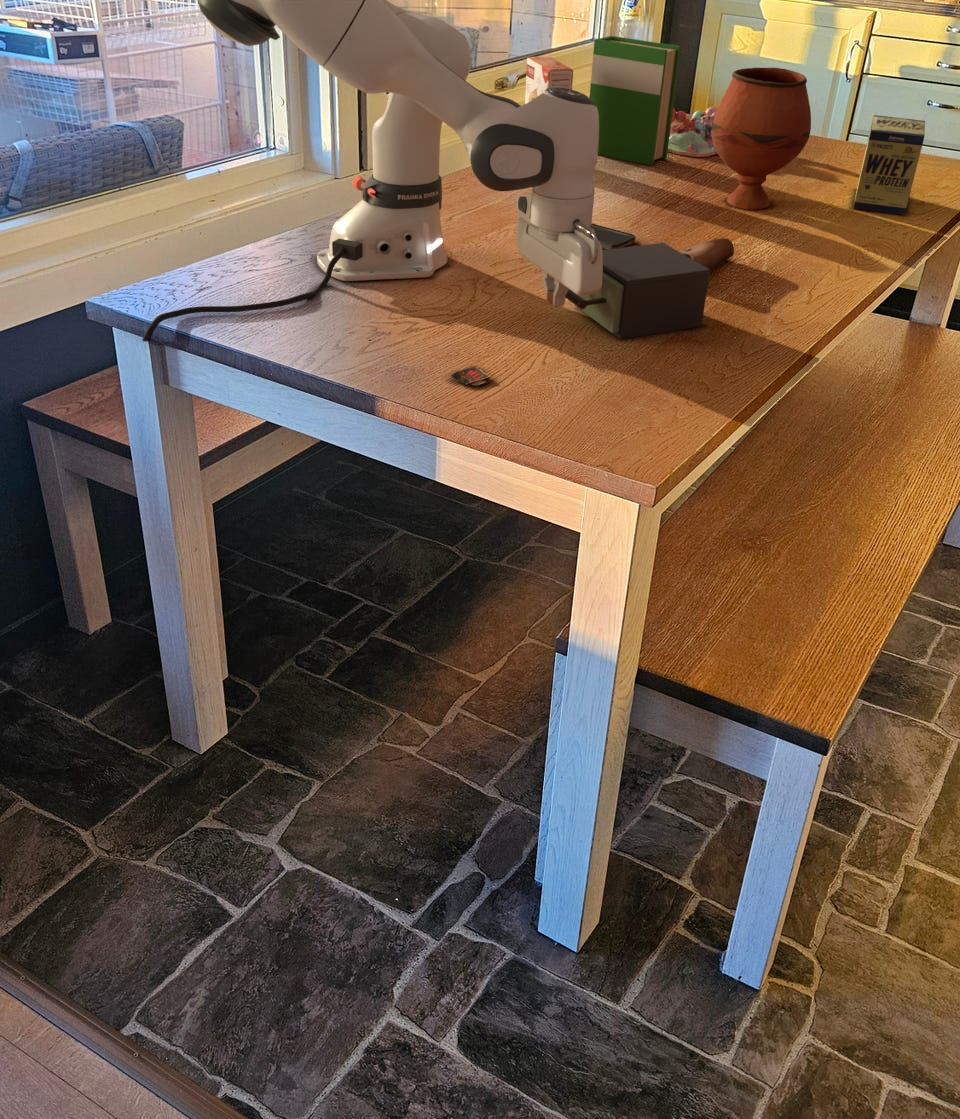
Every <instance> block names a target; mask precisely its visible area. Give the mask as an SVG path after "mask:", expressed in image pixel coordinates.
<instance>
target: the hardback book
mask: <svg viewBox="0 0 960 1119" xmlns="http://www.w3.org/2000/svg"><path fill="white" fill-rule="evenodd" d="M681 50H682V46H681V45H676V44H670V43H663V42H657V41H656V42H655V41H649V40H644V39H643V40H642V39H637V38H636V39H635V38H630V37H622V36H616V35H608V36H604V37H600V38H599V37H598V38H595V39H594V41H593V53H592V64H591V73H590V74H591V75H590V76H591V78H590V87H589V96H588V97H589V98H590V99H591V100H592V101H593V102H594V104H595V105H596V107H597V109H598V115H599V146H598V156H604V157H609V158H612V159H618V160H622V161H628V162H633V163H637V164H642V165H646V166H654V162H655V160H663V161H667V160H668V153H669V152H668V145H669V137H670V129H671V127H672V123H671V121H672V114H673V108H674V104H675V97H676V89H677V82H678V73H679V66H680V59H681Z"/></svg>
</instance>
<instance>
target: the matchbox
mask: <svg viewBox="0 0 960 1119" xmlns="http://www.w3.org/2000/svg"><path fill="white" fill-rule="evenodd" d="M450 377H452V379H455V380H456V381H458V382H459V383H462V384H464V385H468V384H469V385H472V386H476V387H477V386H480V385H484V384H485V383H486V382H487V380H485V379H487V378H489V377H491V376H490V375H489V374H487V373H486V372H484V371H483V369H480V368H478V367H475V366H470V367H467V368H465V369H462V370H457V371H455V372H454V373H452V374H451V375H450ZM455 380H453V381H455ZM456 381H455V382H456Z"/></svg>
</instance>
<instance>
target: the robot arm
mask: <svg viewBox="0 0 960 1119" xmlns="http://www.w3.org/2000/svg"><path fill="white" fill-rule="evenodd" d="M196 1H197V4H198V7H199V9H200V10H199V11H200V12H201V14H203V16H204V18H206V20H207V21H208V23H209V24H210V25H211V27H213V29H214V30H215V31H216V32H217V33H219V34H220V35H221V36H223V37H224V38H226V39H227V40H230V41H231V42H235V43H239V44H241V45H244V46H248V47H251V46H258V45H262V44H265V42H267V41H268V40H270V39H272V40H274V41H277V40H278V39H280V38H281V36H280V34H279V33H278V31H277V30H276V28H275V26H276V27H277V28H278V29H279V30H280V32H282V33H283V34H284V35H285V36H286V37H287V39H289V40H290V41H291V42H292V43H293V44H294V45H295V46H296V47H297V48H299V49H300V51H302V52H303V53H304V54H305V55H306V56H308V57H309V58H310V59H311V60H312V61H314V62H315V63H317V64H318V65H319V66H320V67H322V68H323V69H324V70H326V71H327V72H328V73H329V74H331V75H333V76H334V77H335V78H337V79H338V80H340V81H342V82H343V83H345V84H347V85H349V86H351V87H353V88H354V89H357V90H359V91H361V92H362V93H365V94H372V95H377V94H382V93H388V98H387V103H386V106H385V110H384V112H383V115H382V116H380V117H379V118H378V119H377V120H376V121H375V122H374V124H373V127H372V130H371V141H372V142H371V145H372V146H371V147H372V174H371V176H369V178H368V179H367V180H366V179H365V178H364V177H362V176H360V175H357V176H355V177H354V179H352V186H353V187H354V188H355V189H357V191H359V192H361V194H362V199H361V200H360V201H358V202H357V203H356V204H355V205H354V206H353V207H352V208H350V210H348V211H347V212H346V213H345V214H344V215H342V216H341V217H340V218H339V219H337V220H336V221H335V222H334V224H333V226H332V228H331V231H330V237H329V245H328V246H329V247H328V248H324V249H321V250H319V251H318V252H317V255H316V263H317V265H318V267H319V268H320V269H321V270H322V271H323V273H325V275H324V277H323V278H322V280H321V282H320V283H319V285H318V286H317V287H316V288H314V290H312V291H309V292H305V293H301V294H299V295H295V296H292V297H289V298H284V299H281V300H275V301H268V302H259V303H252V304H243V305H222V306H220V305H205V306H202V305H201V306H190V307H185V308H181V309H177V310H173V311H168V312H164V313H161V314H159V315H157V316H156V317H154V319H153V320H152V321H151V323H150V324H149V326H148V328H147V329H146V331H145V333H144V335H143V337H142V341H143V342H147V341H150V340H151V338H152V336H153V334H154V332H155V330H156V329H157V327H158V326H159V325H160V324H161V323H162V322H164V321H166V320H169V319H173V318H177V317H182V316H185V315H186V316H187V315H191V314H199V313H241V312H250V311H260V310H267V309H273V308H279V307H284V306H289V305H294V304H297V303H299V302H302V301H305V300H309V299H311V298H313V297H315V296H316V295H317V294H318V293H319V292H320V291H321V290H322V289H324V288H326V286H327V284H328V283H329V281H330V280H331V278H334V279H336V280H339V281H344V282H358V281H359V282H360V281H377V280H395V279H397V280H398V279H399V280H400V279H415V278H417V279H418V278H429V277H432V276H433V275H434V273H435V271H436V270H438V269H440V268H442V267H443V266H445V265H446V264H447V263H448V260H449V259H448V255H447V252H446V247H445V244H444V238H443V232H442V223H441V222H442V221H441V210H442V202H443V184H442V182H443V181H442V180H443V179H442V177H441V175H440V157H441V156H440V153H441V152H440V151H441V135H442V134H441V133H442V127H443V123H444V124H445V125H447V127H450V128H451V129H452V130H453V131H454V132H455V133H456V135H457V136H458V137H459V139H460V140H461V141H462V143H463V145H464V147H465V149H466V151H467V154H468V159H469V163H470V167H471V169H472V172H473V174H474V176H475V178H476V179H477V180H478V181H479V182H480V183H481V185H483V186H485V187H486V188H487V189H489V190H492V191H496V192H513V191H520V190H525V189H531V190H532V191H531V192H527V193H520V194H517V195H516V199H515V207H516V210H518V212H517V215H516V227H515V229H516V233H515V240H516V247H517V248H516V249H517V252H518V254H519V255H520V256H521V257H523V258H524V259H526V260H527V261H529V262H530V263H532V264H533V265H534V266H536V267H537V268H538V269H540V270H541V271H542V274H541V275H542V279H543V284H544V287H545V288H544V289H545V297H544V298H545V300H546V302H549V303H550V304H551V305H552V306H554V307H556V308H557V307H564V305H565V304H566V298H565V296H566V294H567V292H568V290H569V289H570V290H571V291H573V292H574V293H576V294H577V295H579V296H584V295H591V294H596V293H598V292H599V290H600V289H601V287H602V276H603V252H602V250H603V248H602V246H601V243H600V242H599V240H598V239H597V237H596V235H595V231H594V230H593V229H592V228H590V226H591V224H593V212H594V202H595V193H596V192H595V191H596V190H595V183H594V173H595V169H596V165H597V163H598V157H599V155H598V146H599V115H598V109H597V107H596V105H595V104H594V102H593V101H592V100H591V99H590V98H589V97H590V96H588V95H586V94H585V93H582V92H580V91H578V90H574V89H572V90H571V89H566V88H559V87H557V88H554V87H552V88H547V89H545V90H544V91H543V93H542V94H540V95H539V96H538V97H536V98H535V99H533V100H531V101H530V102H528V103H526V104H525V103H524V104H522V105H521V104H519V103H518V102H516V101H515V100H513V99H510V98H508V97H505V96H501V95H496V94H493V93H492V94H491V93H488V92H484V91H482V90H479V89H478V88H476V87H475V86H473V85H472V84H471V83H470V82H468V81H467V79H468V77H469V74H470V71H471V67H472V51H471V50H472V49H471V47H470V46H471V45H470V43H469V41H468V40H467V38H466V36H465V35H464V34H463V33H462V32H461V31H459V30H458V29H457V28H456V27H454V26H452V25H451V24H449V23H447V22H446V21H445V20H443V19H440V18H437V17H433V16H428V15H425V14H421V13H417V12H413V11H410V10H407V9H404V8H401V7H400V6H397V5H395V4H394V3H391V2H390V1H389V0H196Z"/></svg>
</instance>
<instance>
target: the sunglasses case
mask: <svg viewBox="0 0 960 1119" xmlns="http://www.w3.org/2000/svg"><path fill="white" fill-rule="evenodd" d="M679 252H680V253H682V254H684V255H686V256H687V257H689V258H691V259H693V260H694V261H696V262H698V263H699V264H701V265H703V266H705V267H706V268H708V269H710V273H711V272H712V271H714V270H716V269H717V268H718V267H719V266H720V265H722V264H723V263H725V262H726V261H727V260H729V259H730V258H732V257H733V256H734V253H735V246H734V244H733V242H732V241H731V239H729V238H726V237H725V238H724V237H723V238H714V239H710V240H706V241H702V242H700V243H697V244H695V245H692V246H688V247H686V248H684V249H682V250H680V251H679Z"/></svg>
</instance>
